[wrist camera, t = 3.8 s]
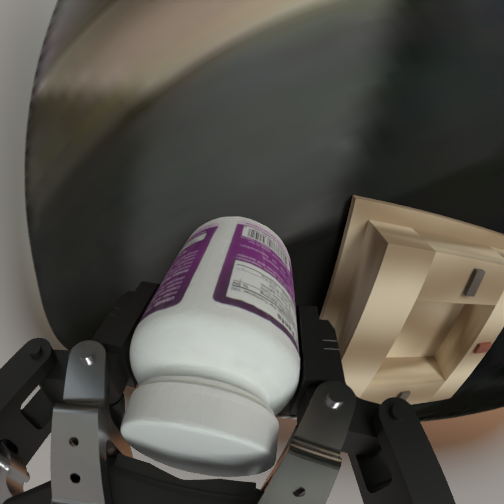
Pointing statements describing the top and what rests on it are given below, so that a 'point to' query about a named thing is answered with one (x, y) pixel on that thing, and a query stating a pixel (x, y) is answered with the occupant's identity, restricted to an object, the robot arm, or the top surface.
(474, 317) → the holder
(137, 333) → the pill bottle
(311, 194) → the top surface
